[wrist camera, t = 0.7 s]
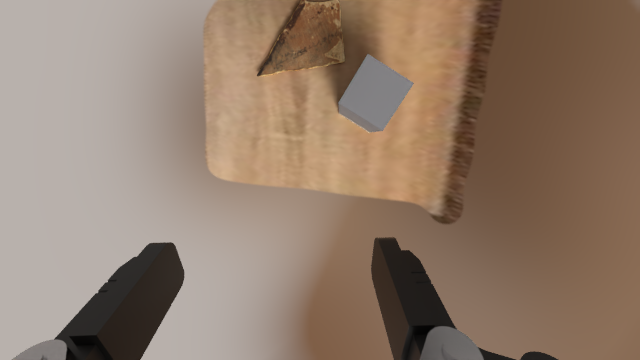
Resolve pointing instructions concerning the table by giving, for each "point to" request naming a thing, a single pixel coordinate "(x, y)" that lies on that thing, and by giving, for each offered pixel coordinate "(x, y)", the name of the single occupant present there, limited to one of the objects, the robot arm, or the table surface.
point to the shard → (308, 39)
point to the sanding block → (373, 95)
